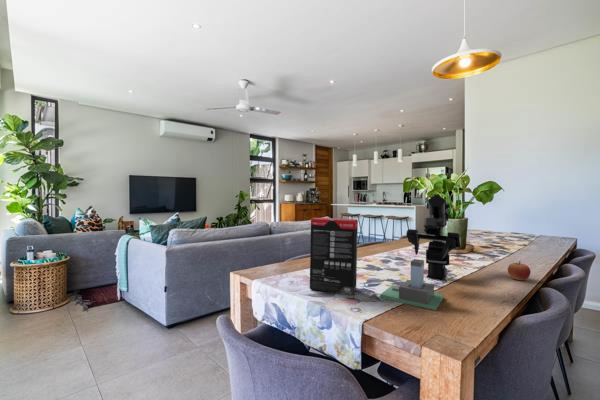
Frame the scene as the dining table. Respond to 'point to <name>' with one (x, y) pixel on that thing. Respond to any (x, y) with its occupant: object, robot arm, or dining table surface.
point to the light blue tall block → (417, 273)
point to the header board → (396, 295)
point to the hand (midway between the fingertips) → (429, 255)
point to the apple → (519, 271)
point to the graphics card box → (333, 255)
